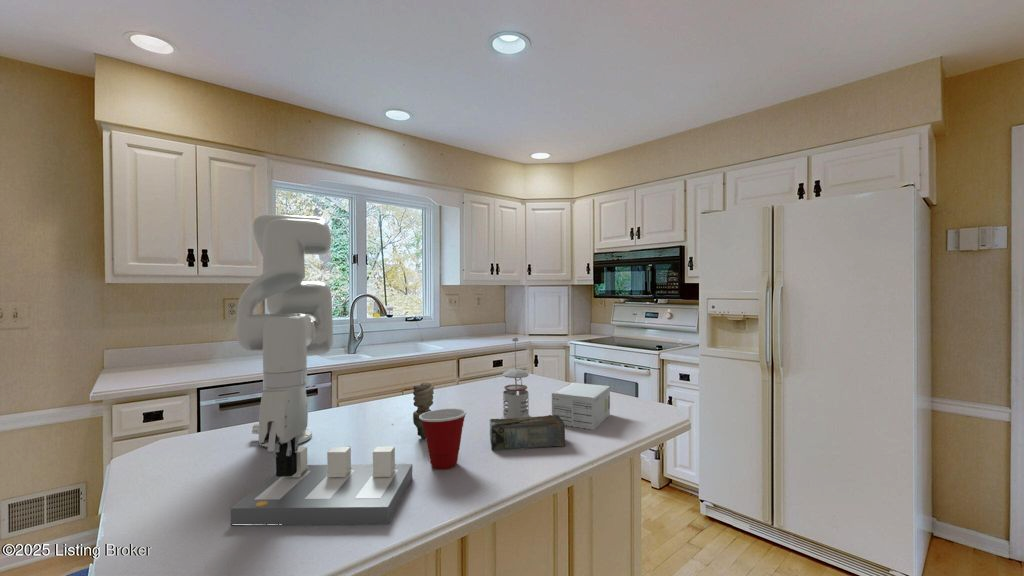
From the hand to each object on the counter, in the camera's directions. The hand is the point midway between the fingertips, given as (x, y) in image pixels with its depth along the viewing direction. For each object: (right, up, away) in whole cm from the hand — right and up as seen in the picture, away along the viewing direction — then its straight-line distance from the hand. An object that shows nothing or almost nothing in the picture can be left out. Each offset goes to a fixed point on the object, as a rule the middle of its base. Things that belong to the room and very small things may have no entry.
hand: (286, 474), depth 84 cm
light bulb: (+20, -5, +33) cm, 38 cm away
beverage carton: (+47, -5, +29) cm, 55 cm away
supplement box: (+65, -4, +49) cm, 81 cm away
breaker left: (0, -1, +4) cm, 4 cm away
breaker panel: (+9, -5, 0) cm, 10 cm away
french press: (+45, -4, +51) cm, 68 cm away
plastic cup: (+28, -5, +16) cm, 32 cm away
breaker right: (+18, -1, +4) cm, 18 cm away
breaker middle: (+9, -1, +4) cm, 10 cm away
